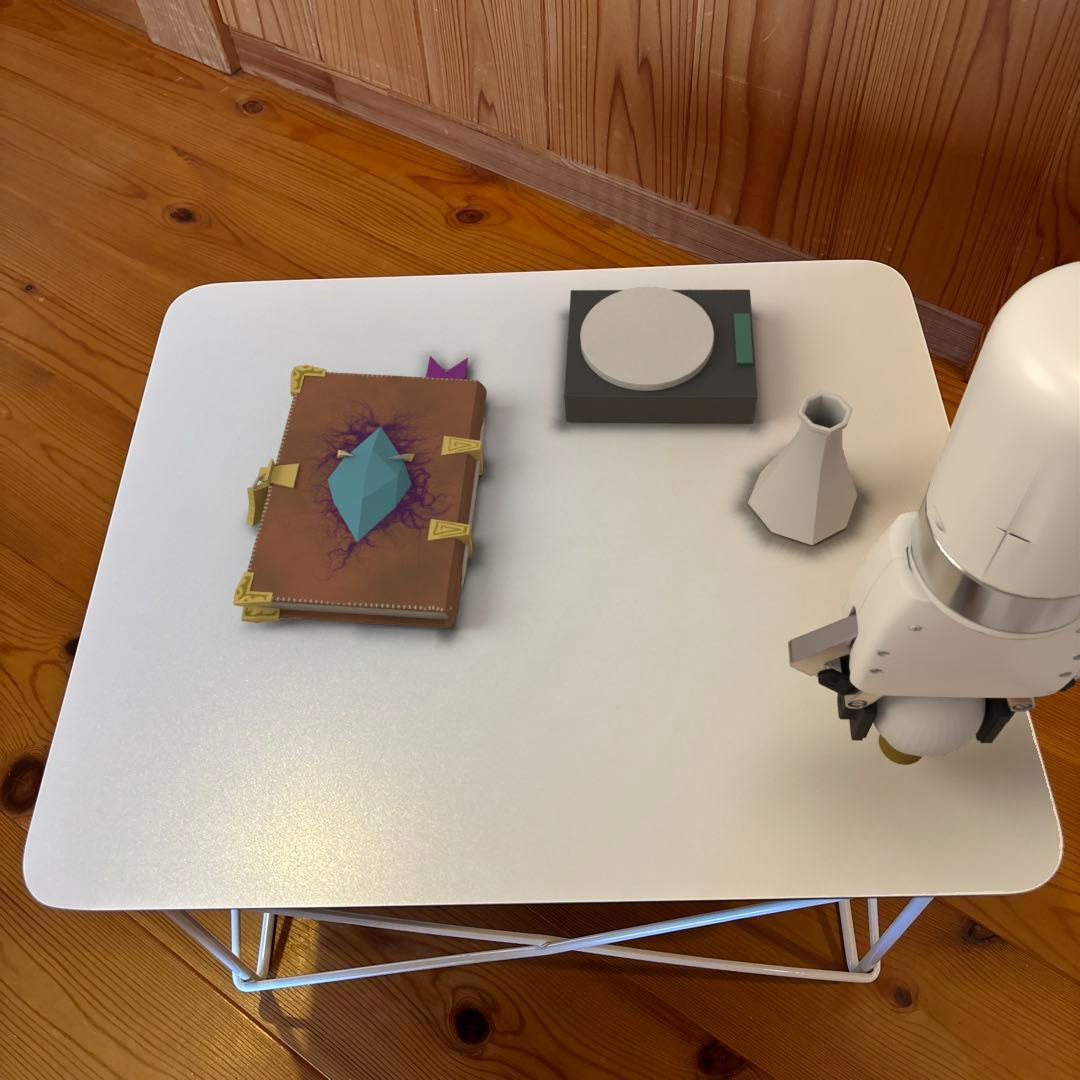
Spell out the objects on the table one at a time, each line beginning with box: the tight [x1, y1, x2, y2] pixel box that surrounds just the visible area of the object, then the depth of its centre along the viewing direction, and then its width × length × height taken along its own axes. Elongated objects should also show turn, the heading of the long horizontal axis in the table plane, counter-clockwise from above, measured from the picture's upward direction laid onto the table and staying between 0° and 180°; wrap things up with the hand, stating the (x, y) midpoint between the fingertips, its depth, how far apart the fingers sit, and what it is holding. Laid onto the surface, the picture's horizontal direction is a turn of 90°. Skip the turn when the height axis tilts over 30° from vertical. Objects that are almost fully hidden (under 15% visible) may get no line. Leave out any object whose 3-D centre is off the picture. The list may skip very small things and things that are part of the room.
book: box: [232, 355, 488, 629], centre depth 75 cm, size 16×25×5 cm, turn 176°
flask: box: [747, 390, 858, 546], centre depth 69 cm, size 7×7×10 cm
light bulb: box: [872, 695, 986, 766], centre depth 57 cm, size 6×6×10 cm
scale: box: [563, 286, 758, 424], centre depth 79 cm, size 14×11×4 cm
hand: (917, 715), depth 57 cm, fingers closed on light bulb, 5 cm apart
